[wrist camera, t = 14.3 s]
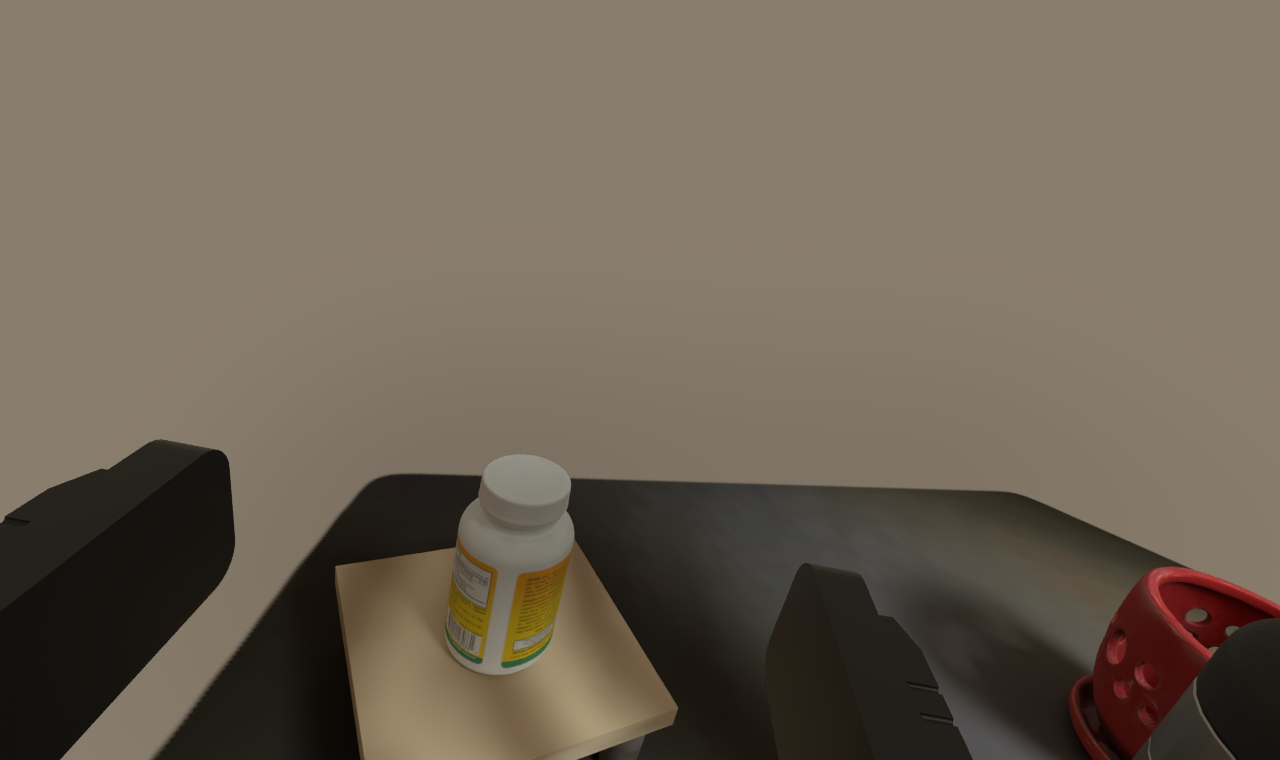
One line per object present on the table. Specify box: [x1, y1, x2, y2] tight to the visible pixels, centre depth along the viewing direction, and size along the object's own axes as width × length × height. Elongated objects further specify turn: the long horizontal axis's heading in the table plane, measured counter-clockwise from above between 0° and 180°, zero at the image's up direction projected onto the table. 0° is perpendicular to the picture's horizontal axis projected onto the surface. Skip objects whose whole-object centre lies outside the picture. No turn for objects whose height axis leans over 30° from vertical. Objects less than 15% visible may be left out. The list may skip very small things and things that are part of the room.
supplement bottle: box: [445, 454, 574, 675], centre depth 31 cm, size 6×6×10 cm
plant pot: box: [1069, 567, 1280, 760], centre depth 38 cm, size 13×13×12 cm
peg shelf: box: [335, 539, 678, 760], centre depth 34 cm, size 14×14×5 cm
